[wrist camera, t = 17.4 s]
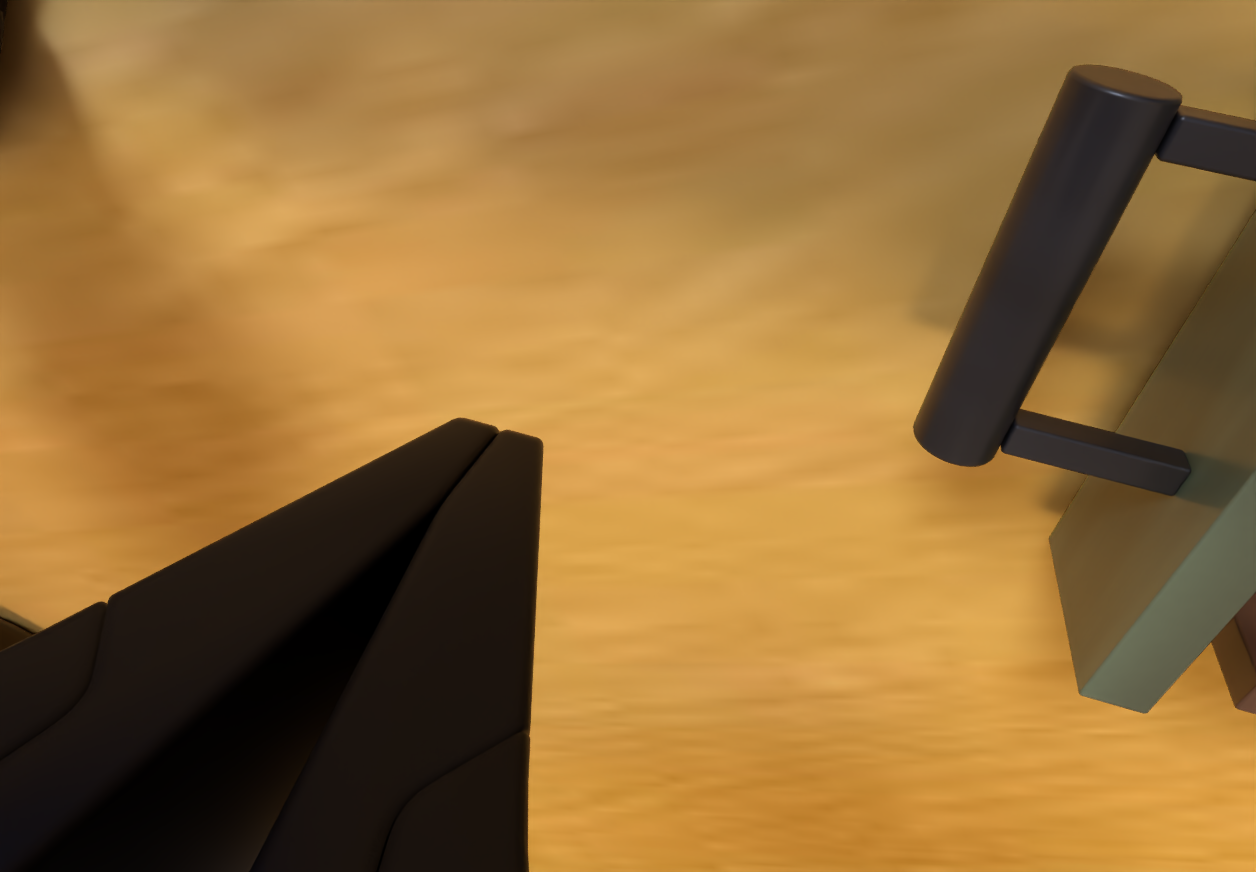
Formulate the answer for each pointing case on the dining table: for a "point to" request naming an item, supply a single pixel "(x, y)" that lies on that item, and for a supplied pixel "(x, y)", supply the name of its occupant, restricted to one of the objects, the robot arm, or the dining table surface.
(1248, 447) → the drawer
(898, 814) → the dining table surface
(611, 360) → the dining table surface
